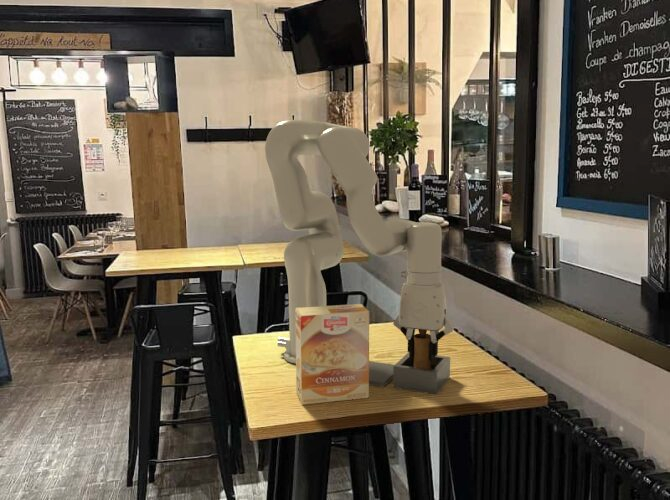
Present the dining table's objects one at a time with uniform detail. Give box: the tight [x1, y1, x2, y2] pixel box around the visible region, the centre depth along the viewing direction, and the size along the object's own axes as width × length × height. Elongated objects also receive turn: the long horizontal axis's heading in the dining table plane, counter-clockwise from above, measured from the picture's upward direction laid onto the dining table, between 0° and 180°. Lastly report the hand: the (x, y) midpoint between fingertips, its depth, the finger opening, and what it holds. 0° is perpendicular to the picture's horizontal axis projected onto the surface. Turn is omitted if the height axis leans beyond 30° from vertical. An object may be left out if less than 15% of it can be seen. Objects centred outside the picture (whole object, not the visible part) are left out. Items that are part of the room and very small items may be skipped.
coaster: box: [369, 360, 395, 387], centre depth 148 cm, size 10×12×1 cm
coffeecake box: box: [295, 303, 370, 406], centre depth 135 cm, size 15×7×20 cm, turn 103°
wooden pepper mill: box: [414, 329, 433, 370], centre depth 142 cm, size 7×6×18 cm
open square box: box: [392, 351, 451, 395], centre depth 143 cm, size 10×11×5 cm
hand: (422, 356), depth 142 cm, fingers closed on wooden pepper mill, 3 cm apart
